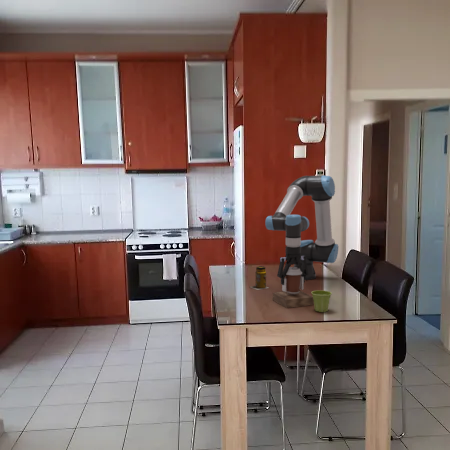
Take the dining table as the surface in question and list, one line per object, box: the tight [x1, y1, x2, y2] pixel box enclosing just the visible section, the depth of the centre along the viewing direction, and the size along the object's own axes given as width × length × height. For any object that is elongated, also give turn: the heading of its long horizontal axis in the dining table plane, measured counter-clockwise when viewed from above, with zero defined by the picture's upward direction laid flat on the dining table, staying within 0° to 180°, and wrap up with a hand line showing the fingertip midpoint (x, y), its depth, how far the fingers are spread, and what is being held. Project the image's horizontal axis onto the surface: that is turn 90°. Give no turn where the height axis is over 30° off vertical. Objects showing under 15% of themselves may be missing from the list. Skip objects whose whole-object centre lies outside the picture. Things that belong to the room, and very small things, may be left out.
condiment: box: [250, 265, 270, 291], centre depth 261 cm, size 7×8×12 cm
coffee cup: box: [285, 266, 302, 294], centre depth 229 cm, size 9×9×12 cm
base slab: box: [272, 289, 314, 309], centre depth 230 cm, size 15×15×4 cm
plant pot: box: [311, 289, 332, 313], centre depth 216 cm, size 9×9×9 cm
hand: (292, 290), depth 230 cm, fingers closed on coffee cup, 9 cm apart
